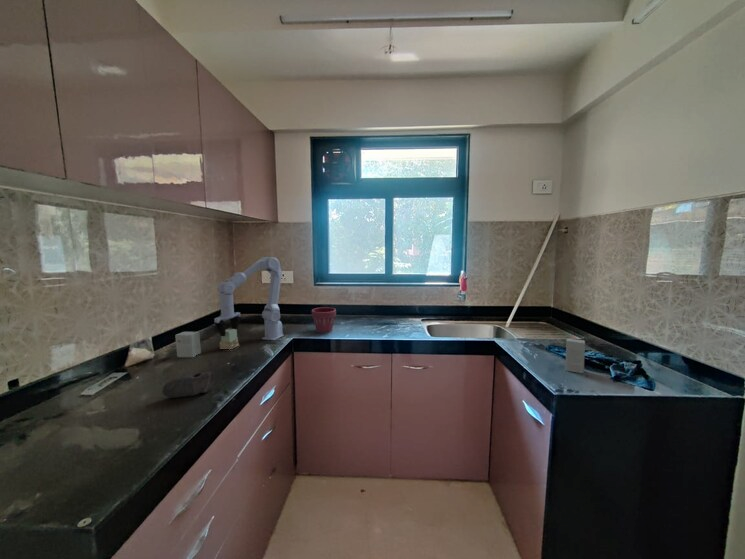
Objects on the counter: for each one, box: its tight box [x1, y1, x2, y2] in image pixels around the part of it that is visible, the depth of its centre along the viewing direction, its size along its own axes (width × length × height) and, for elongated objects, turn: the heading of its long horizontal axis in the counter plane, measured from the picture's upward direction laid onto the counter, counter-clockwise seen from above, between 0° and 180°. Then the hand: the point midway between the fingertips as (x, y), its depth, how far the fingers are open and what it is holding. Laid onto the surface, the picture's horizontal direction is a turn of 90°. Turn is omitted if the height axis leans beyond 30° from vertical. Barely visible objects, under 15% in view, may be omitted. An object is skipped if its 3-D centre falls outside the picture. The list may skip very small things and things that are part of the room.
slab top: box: [219, 337, 239, 347], centre depth 148 cm, size 6×6×2 cm
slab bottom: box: [219, 342, 240, 351], centre depth 148 cm, size 6×6×2 cm
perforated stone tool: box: [161, 371, 215, 399], centre depth 100 cm, size 15×5×7 cm, turn 111°
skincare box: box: [564, 338, 586, 374], centre depth 117 cm, size 6×4×12 cm
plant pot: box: [311, 306, 337, 334], centre depth 177 cm, size 14×14×13 cm
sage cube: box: [220, 328, 238, 342], centre depth 148 cm, size 5×5×5 cm
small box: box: [174, 331, 202, 358], centre depth 138 cm, size 8×6×10 cm
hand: (228, 333), depth 148 cm, fingers open, 7 cm apart
